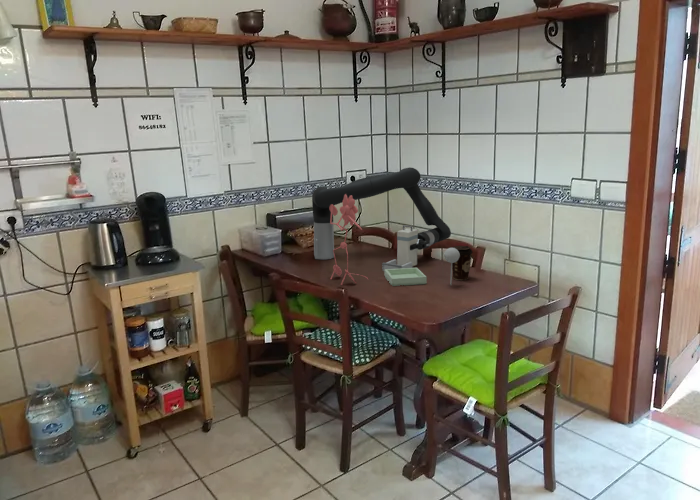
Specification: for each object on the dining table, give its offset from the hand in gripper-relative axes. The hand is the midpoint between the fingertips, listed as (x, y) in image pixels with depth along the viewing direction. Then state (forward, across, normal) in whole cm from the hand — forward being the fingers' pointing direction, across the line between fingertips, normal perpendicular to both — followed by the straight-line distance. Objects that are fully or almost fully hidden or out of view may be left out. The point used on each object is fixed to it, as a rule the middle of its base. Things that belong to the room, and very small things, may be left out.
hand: (404, 247), depth 239 cm
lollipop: (+13, +29, +9) cm, 33 cm away
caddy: (-2, 0, +9) cm, 9 cm away
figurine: (+29, -8, +9) cm, 32 cm away
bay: (+5, 0, +9) cm, 10 cm away
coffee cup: (+2, +28, +9) cm, 30 cm away
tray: (+17, +11, +9) cm, 22 cm away
